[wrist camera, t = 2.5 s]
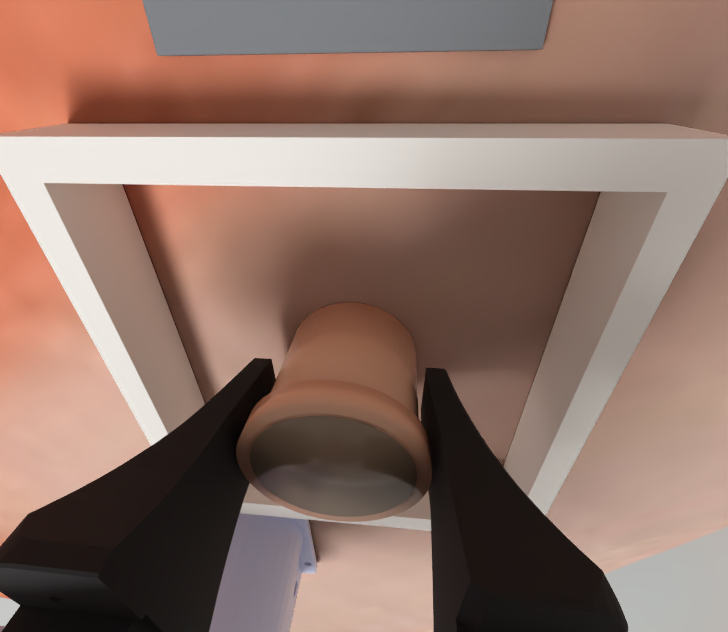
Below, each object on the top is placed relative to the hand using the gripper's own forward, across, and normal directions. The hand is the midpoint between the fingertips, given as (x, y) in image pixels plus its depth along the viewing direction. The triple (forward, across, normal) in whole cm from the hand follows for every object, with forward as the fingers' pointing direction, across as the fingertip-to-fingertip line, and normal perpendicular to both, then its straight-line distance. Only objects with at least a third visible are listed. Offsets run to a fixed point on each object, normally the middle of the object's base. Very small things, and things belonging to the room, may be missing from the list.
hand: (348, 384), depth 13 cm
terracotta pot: (+2, 0, 0) cm, 2 cm away
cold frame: (+2, 0, 0) cm, 2 cm away
